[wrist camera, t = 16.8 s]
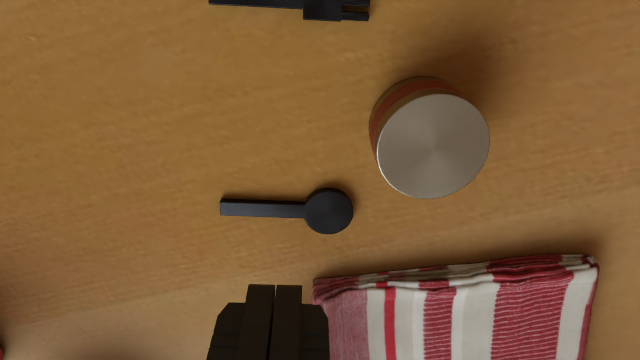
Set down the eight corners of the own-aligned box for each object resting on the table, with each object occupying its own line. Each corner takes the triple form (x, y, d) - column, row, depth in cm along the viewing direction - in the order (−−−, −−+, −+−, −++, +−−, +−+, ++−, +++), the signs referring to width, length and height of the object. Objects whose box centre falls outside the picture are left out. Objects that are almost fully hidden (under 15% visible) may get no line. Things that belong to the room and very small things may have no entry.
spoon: (222, 225, 35) (220, 230, 34) (220, 182, 33) (218, 186, 33) (350, 230, 35) (351, 235, 35) (354, 188, 34) (355, 192, 33)
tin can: (348, 112, 31) (354, 134, 27) (439, 54, 29) (460, 69, 25) (398, 187, 34) (410, 218, 30) (484, 138, 32) (509, 163, 28)
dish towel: (307, 277, 37) (306, 299, 35) (592, 245, 36) (612, 265, 34) (331, 411, 45) (332, 436, 42) (569, 387, 44) (583, 412, 41)
